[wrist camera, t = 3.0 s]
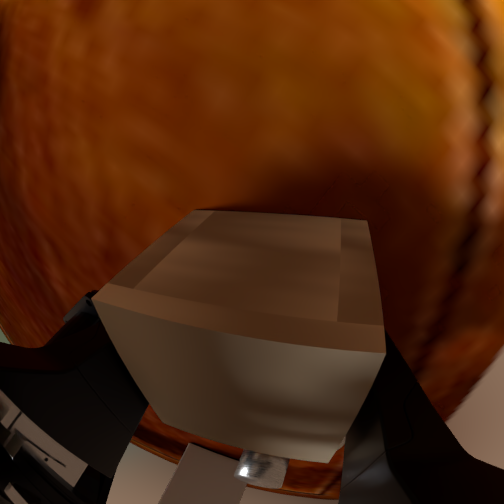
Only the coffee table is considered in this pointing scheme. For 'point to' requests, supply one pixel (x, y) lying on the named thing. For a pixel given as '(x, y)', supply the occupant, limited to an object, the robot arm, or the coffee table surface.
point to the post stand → (263, 468)
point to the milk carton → (204, 479)
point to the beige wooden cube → (252, 328)
